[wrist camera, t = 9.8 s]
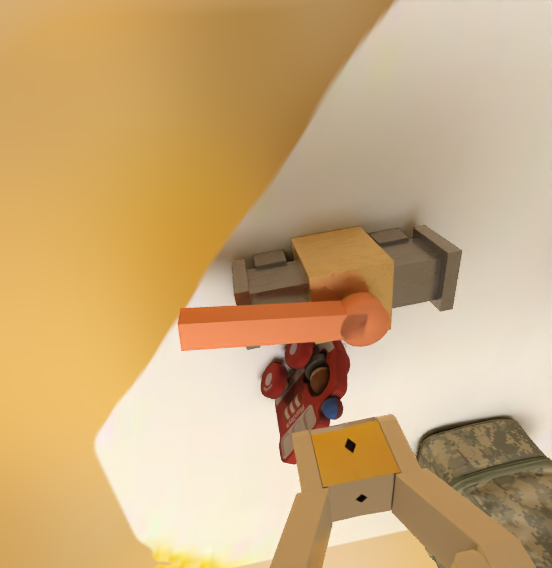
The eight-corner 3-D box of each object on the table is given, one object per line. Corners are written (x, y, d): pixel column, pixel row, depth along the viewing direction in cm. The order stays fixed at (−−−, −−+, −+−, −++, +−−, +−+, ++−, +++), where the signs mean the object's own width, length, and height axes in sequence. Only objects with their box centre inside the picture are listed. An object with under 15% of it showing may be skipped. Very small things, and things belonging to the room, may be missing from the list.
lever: (384, 289, 27) (395, 303, 26) (375, 329, 29) (385, 344, 28) (179, 299, 25) (176, 315, 24) (184, 341, 27) (182, 358, 26)
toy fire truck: (353, 335, 42) (390, 403, 33) (295, 400, 46) (314, 476, 37) (308, 313, 39) (334, 381, 30) (251, 384, 43) (260, 462, 34)
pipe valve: (417, 215, 35) (472, 251, 27) (412, 274, 38) (460, 321, 31) (230, 249, 34) (233, 297, 26) (243, 307, 37) (249, 364, 30)
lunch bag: (486, 496, 68) (588, 653, 49) (399, 513, 66) (470, 682, 47) (528, 407, 54) (690, 576, 36) (420, 425, 53) (530, 612, 34)
